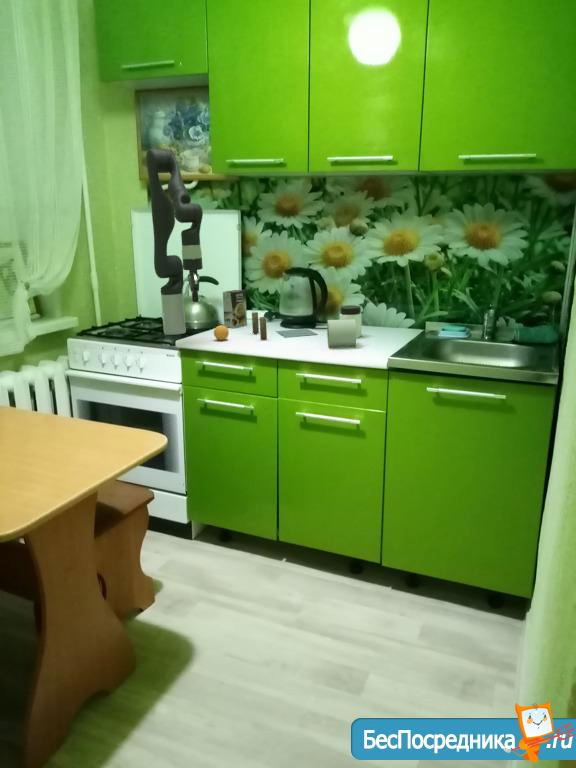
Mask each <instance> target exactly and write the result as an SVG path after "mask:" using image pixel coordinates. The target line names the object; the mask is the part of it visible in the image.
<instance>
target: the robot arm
mask: <svg viewBox="0 0 576 768" xmlns="http://www.w3.org/2000/svg"><path fill="white" fill-rule="evenodd" d="M145 158H146V159H145V160H146V168H147V169H146V170H147V177H148V182H149V183H148V184H149V191H150V202H151V203H150V205H151V219H152V227H153V228H152V230H153V268H154V272H155V274H156V276H157V277H158V278H159V279H168V281H167V282H166V284H164V285H163V286H161V288H160V298H161V307H162V310H161V315H162V324H163V325H162V326H163V327H162V328H163V333H164V335H165V336H168V335H169V336H172V335H173V336H174V335H182V334H185V333H186V332H187V330H186V329H187V328H186V317H185V315H186V314H185V305H184V292H183V291H184V290H183V289H184V285H185V284H184V271H189V272H188V274H187V278H188V283H189V285H188V286H189V290H190V291H191V292H190V293H191V299H192V302H193V303H198V302H199V291H200V274H198V270H202V269H203V258H202V256H203V254H202V252H203V251H202V248H201V247H202V246H201V239H200V237H201V236H200V234H201V225H202V223H203V222H202V221H203V213H204V212H203V208H202V206H201V205H200V204H199V203H195V202H194V203H191V201H192V197H191V195H190V193H189V191H188V189H187V187H186V185H185V183H184V181H183V177H182V174H181V170H180V168H179V167H180V166H179V163H178V161H177V157H176V154H175V153H174V151H173V150H171V149H168V148H152V147H151V148H148V149H147V151H146V157H145ZM168 173H169V174H170V178H169V180H168V183H167V192H168V194H167V193H166V191H165V190H164V187H163V186H162V184H161V181H160V177H159V174H168ZM168 195H169V196H168ZM176 221H177V222H179V223H181V224H189V223H191V225H190V227H189V228H186V229H183V230H182V231H181V233H180V234H181V235H180V236H181V237H180V238H181V258H182V259H181V258H180V256H178V255H176V254H173V255H172V254H171V255H168V243H169V240H170V237H171V235H172V233H173V231H174V228H175V224H176Z"/></svg>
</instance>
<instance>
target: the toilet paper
mask: <svg viewBox="0 0 576 768" xmlns="http://www.w3.org/2000/svg"><path fill="white" fill-rule="evenodd" d="M326 321H327V325H326V326H327V327H326V330H327V331H326V335H327V337H326V338H327V347H328V348H333V347H334V348H336V347H337V348H338V347H356V346H357V338H356V322H355V319H348V320H340V319H328V320H326Z"/></svg>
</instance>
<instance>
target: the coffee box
mask: <svg viewBox="0 0 576 768" xmlns="http://www.w3.org/2000/svg"><path fill="white" fill-rule="evenodd" d="M246 294H247V293H246V290H245V289H234V290H227V291H222V306H223V309H222V310H223V323H224V324H223V326H225V327H226V328H228V327H231V329H237V328H241V327H240V326H242V327H244V326H243V325H246V326H248V317H247V316H248V315H247V314H248V313H247V296H246ZM236 327H237V328H236Z"/></svg>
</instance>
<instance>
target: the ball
mask: <svg viewBox="0 0 576 768" xmlns="http://www.w3.org/2000/svg"><path fill="white" fill-rule="evenodd" d="M229 333H230V332H229V328H228V327H225V326H224V325H221V324H220V325H218V326H216V327H215V329H213V336H214V338H216V340H218V339H219V341H224V340H226V339H227V338H228V336H229Z"/></svg>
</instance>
